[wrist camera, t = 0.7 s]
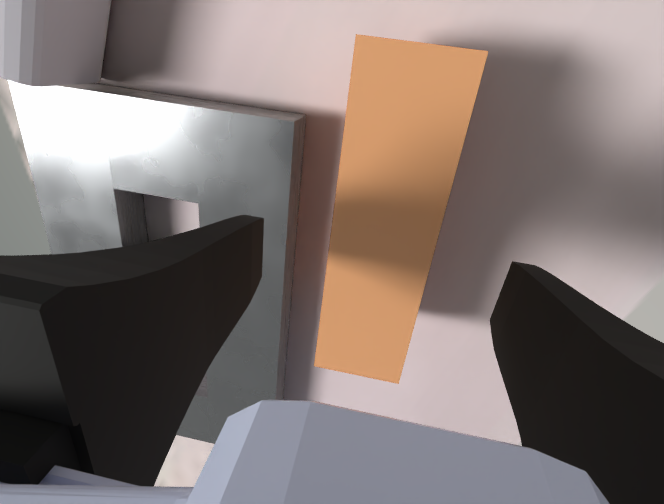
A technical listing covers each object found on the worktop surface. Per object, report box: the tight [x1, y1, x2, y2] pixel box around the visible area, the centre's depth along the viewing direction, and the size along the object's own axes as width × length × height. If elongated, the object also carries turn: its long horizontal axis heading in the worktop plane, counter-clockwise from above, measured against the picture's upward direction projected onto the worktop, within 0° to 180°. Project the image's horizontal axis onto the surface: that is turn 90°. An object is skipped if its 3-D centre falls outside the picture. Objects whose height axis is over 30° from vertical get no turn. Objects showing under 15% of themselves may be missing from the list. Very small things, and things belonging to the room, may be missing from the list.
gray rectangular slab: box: [8, 80, 306, 444], centre depth 21 cm, size 20×12×2 cm, turn 173°
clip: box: [314, 34, 488, 384], centre depth 15 cm, size 12×4×5 cm, turn 173°
